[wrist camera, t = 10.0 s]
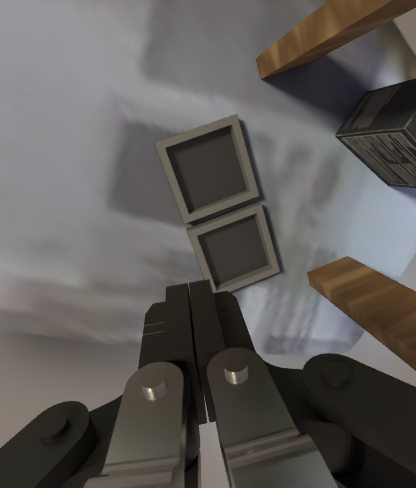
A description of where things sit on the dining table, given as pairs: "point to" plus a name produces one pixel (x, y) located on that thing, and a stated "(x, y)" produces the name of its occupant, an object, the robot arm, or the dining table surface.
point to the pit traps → (219, 203)
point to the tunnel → (347, 269)
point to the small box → (385, 133)
